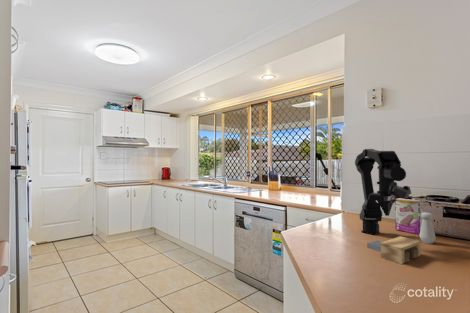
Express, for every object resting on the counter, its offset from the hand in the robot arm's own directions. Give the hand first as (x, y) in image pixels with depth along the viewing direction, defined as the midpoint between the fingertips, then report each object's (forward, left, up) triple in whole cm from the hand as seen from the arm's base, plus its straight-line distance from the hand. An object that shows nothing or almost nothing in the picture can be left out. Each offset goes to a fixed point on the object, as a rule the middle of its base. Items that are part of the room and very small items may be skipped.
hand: (387, 215), depth 106 cm
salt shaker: (+8, +18, -13) cm, 23 cm away
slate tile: (+4, -8, -13) cm, 16 cm away
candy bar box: (-4, +30, -13) cm, 33 cm away
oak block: (+9, -10, -12) cm, 19 cm away
